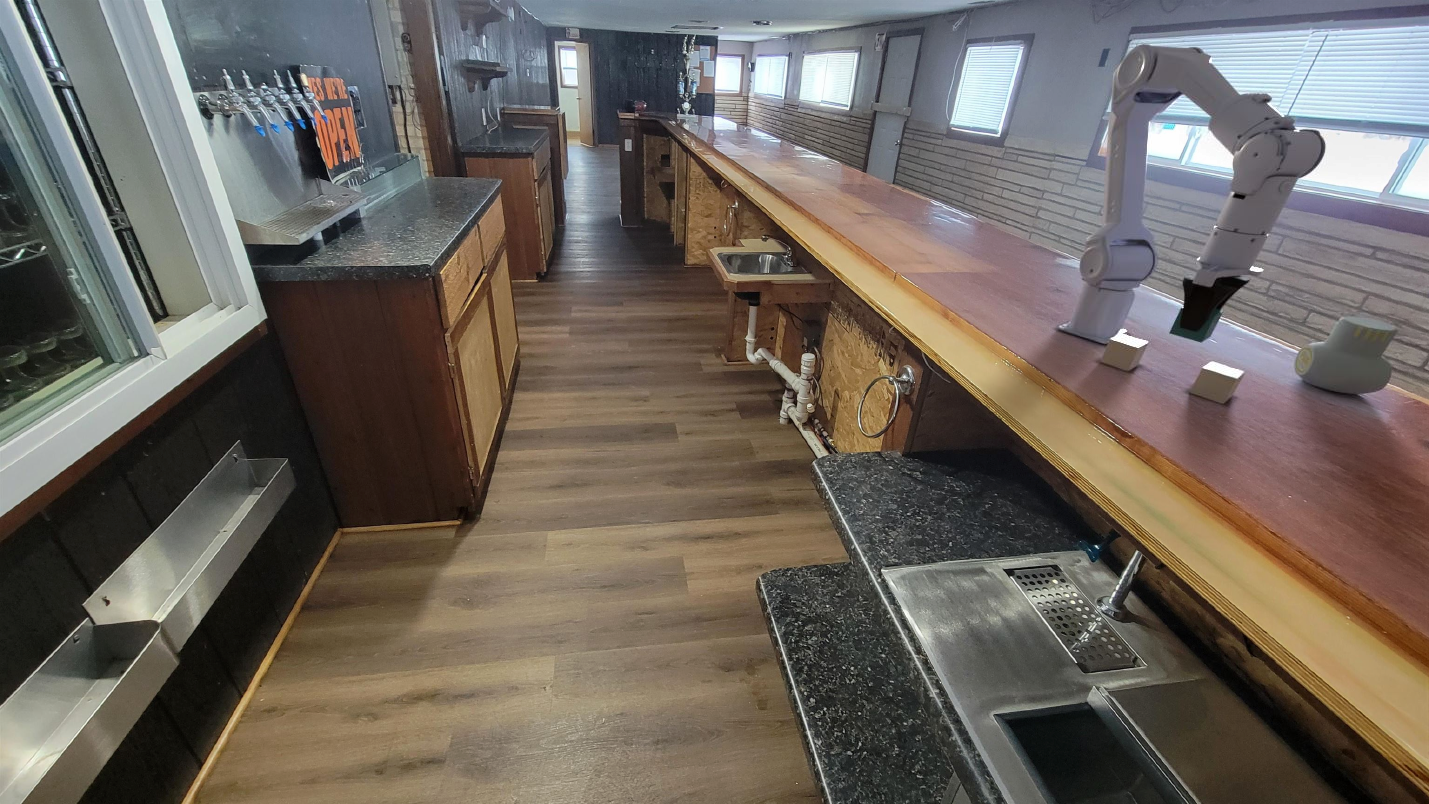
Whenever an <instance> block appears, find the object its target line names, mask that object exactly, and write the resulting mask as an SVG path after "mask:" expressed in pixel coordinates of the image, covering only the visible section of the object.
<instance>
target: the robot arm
mask: <svg viewBox="0 0 1429 804" xmlns="http://www.w3.org/2000/svg"><path fill="white" fill-rule="evenodd" d="M1212 59H1213V56H1212V55H1210V54H1208V53H1205V51H1204V50H1203V49H1202V48H1200V47H1197V46H1189V47H1180V46H1179V47H1177V46H1160V45H1159V46H1158V45H1150V44H1148V43H1147V44H1146V43H1142V44H1138V45H1137V46H1135V47H1133V48H1132V49H1130V51H1128V52H1127V54H1126V55H1125V56H1124V58H1123V59H1122V61H1121V62H1120V63H1119V65H1118V66H1117V68H1116V69H1115V70H1114V72H1113V73H1112V89H1111V102H1110V112H1109V117H1108V125H1107V141H1106V142H1107V143H1106V158H1105V172H1104V187H1103V188H1104V189H1103V202H1102V203H1103V204H1102V220H1101V227H1100V228H1098V229H1097V230H1096V231H1094V233H1092V234H1090V235H1089V236H1088V237H1086V239H1085V241H1084V250H1083V253H1082V255H1081V257H1080V260H1079V273H1080V276H1081V281H1083V285H1082V288H1081V290H1080V293H1079V295H1078V298H1077V301H1076V303H1075V307H1074V309H1073V311H1072V315H1071V317H1070V319H1069V322H1065V323H1063V324H1061V325H1059V326H1058V327H1057V329H1058V330H1059V331H1063V332H1065V333H1069V334H1071V335H1074V336H1077V337H1081V338H1084V339H1087V340H1090V341H1094V342H1097V343H1100V344H1102V345H1106V344H1108V342H1109V340H1110V339H1111V338H1113V337H1115V336H1117V335H1119V334H1124V335H1127V333H1128V330H1126V329H1124V328H1123V327H1124V324H1125V322H1126V321H1127V320H1126V319H1127V318H1128V315H1129V314H1130V310H1131V308H1132V306H1133V303H1134V301H1135V299H1136V293H1135V289H1138V288H1139V287H1140V285H1141V283H1143V282H1146V281H1147V280H1149V279H1150V278H1151V277H1152V276H1153V275H1154V273H1155V272H1156V269H1157V267H1158V264H1159V256H1158V252H1157V249H1156V247H1155V234H1154V233H1153V232H1152V231H1151V230H1150V229H1149V228H1148V227H1147V226H1146V225H1145V224H1144V223H1143V221H1144V220H1143V219H1144V218H1143V217H1144V208H1145V207H1144V204H1145V191H1146V177H1147V175H1146V174H1147V164H1148V148H1149V135H1150V123H1151V122H1152V120H1153V119H1154V118H1155V117H1156V116H1157V115H1160V114H1162V113H1164V112H1165V111H1166V110H1167V109H1169V108H1170V107H1171V106H1172V105H1173V104H1175V103H1176V102H1177V101H1178V100H1179V99H1181V98H1182V97H1183V96H1185V97H1186V98H1187V99H1188V100H1190V101H1191V102H1192V103H1193V104H1195V105H1196V106H1197V107H1198V108H1199V109H1201V110H1202V111H1203V112H1205V113H1206V114H1207V115H1208V116H1209V117H1210V119H1209V122H1208V125H1207V126H1208V132H1209V133H1210V134H1211V135H1212V136H1213V137H1214V138H1215V139H1216V140H1217V141H1218V142H1219V143H1220V144H1221V145H1222V146H1223V147H1224V148H1225V149H1226V150H1227V151H1228V153H1230V154H1231V155H1232V156H1233V158H1232V170H1233V175H1232V179H1231V182H1230V183H1229V187H1230V189H1229V191H1230V192H1229V194H1228V195H1227V196H1228V197H1227V198H1226V200H1225V203H1224V204H1223V207H1222V209H1221V211H1220V213H1219V216H1218V217H1217V220H1216V221H1215V224H1214V226H1213V228H1212V230H1211V232H1210V235H1209V237H1208V239H1207V241H1206V243H1205V245H1204V247H1203V249H1202V251H1201V254H1200V255H1199V257H1198V258H1196V260H1195V262H1194V264H1195V267H1196V269H1197V272H1196V273H1195V275H1190V274H1188V275H1186V276H1184V278H1183V279H1182V288H1183V306H1182V307H1183V310H1182V315H1181V320H1180V328H1183V329H1187V330H1191V331H1194V332H1197V331H1198V330H1199V329H1200V328H1201V327H1202V326H1203V325H1204V323H1205V322H1206V321H1207V319H1208V318H1209V316H1210V315H1211V314H1212V312H1213V311H1214V309H1218V310H1222V309H1223V308H1224V306H1225V305H1226V304H1227V302H1228V301H1229V300H1230V299H1231V298H1232V297H1233V296H1234V295H1235V294H1236V293H1237V292H1239V291H1240V290H1241V289H1242V288H1244V287H1245V286H1246V285H1247V284H1249V282H1250V280H1251V278H1249V277H1247V276H1253V277H1259V276H1261V275H1262V273H1263V272H1264V269H1262V268H1259V267H1254V264H1255V262H1256V261H1257V260H1258V259H1257V258H1258V256H1259V255H1260V254H1261V251H1262V249H1263V248H1264V246H1265V243H1266V241H1267V239H1268V237H1269V236H1270V234H1271V232H1272V230H1273V228H1274V226H1275V224H1276V222H1277V220H1278V218H1279V217H1280V214H1281V213H1282V210H1283V209H1284V207H1285V205H1286V203H1287V201H1288V199H1289V197H1290V195H1291V193H1292V191H1293V190H1294V188H1295V186H1296V184H1297V182H1298V180H1299V179H1302V178H1304V177H1306V176H1308V175H1309V174H1311V173H1312V172H1313V171H1314V170H1316V168H1317V167H1318V166H1319V165H1320V164H1321V162H1322V160H1323V158H1324V157H1325V154H1326V141H1325V139H1324V137H1323V136H1322V134H1321V132H1320V130H1317V129H1312V128H1302V129H1297V128H1296V126H1295V125H1294V124H1295V122H1296V120H1295V119H1294V118H1293V117H1292V116H1289V115H1283V114H1282V113H1280V112H1279V111H1278V110H1277V109H1276V108H1275V107H1274V106H1273V105H1271V104H1270V103H1271V101H1272V100H1273V97H1272V96H1270V94H1268V93H1266V92H1265V93H1264V92H1261V93H1260V92H1246V93H1242V94H1241V93H1239V92H1238V91H1237V89H1236V88H1235V87H1234V86H1233V85H1232V84H1231V83H1230V82H1229V81H1228V80H1227V78H1225V76H1224V75H1223V74H1222V73H1221V72H1220V71H1219V70H1218V69H1217V67H1216V66H1214V64H1213V63H1212Z"/></svg>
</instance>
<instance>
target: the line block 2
mask: <svg viewBox="0 0 1429 804" xmlns="http://www.w3.org/2000/svg"><path fill="white" fill-rule="evenodd" d="M1245 374H1246V371H1245V370H1241V369H1238V368H1234V367H1231V366H1229V365H1225V364H1223V363H1219V362H1215V361H1210V362H1209V363H1207V364H1206V365H1204V366H1202V368H1201V369H1200V371H1199V374H1198V375H1197V377H1196V379H1195V381H1194V383H1193V385H1192V386H1191V389H1190V391H1189V393H1190V394H1192V395H1195V396H1198V397H1201V398H1205V399H1207V400H1209V401H1211V402H1212V401H1213V402H1216V403H1219V404H1221V405H1224V404H1225V403H1226V402H1227V401H1229V400H1230V399H1231V398H1232V397H1233V395H1234V393H1235V391H1236V390H1237V388H1238V386H1239V384H1240V383H1241V381H1242V380H1243V378H1244V376H1245Z"/></svg>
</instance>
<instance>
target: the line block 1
mask: <svg viewBox="0 0 1429 804" xmlns="http://www.w3.org/2000/svg"><path fill="white" fill-rule="evenodd" d="M1148 344H1149V341H1147V340H1143V339H1140V338H1136V337H1133V336H1129V335H1127V334H1119V335H1117V336H1115V337H1113V338H1111V339H1110V340H1109V342H1108V343H1107V345H1106V347H1105V349H1104V352H1103V354H1102V357H1101V359H1100V363H1102V364H1105V365H1108V366H1110V367H1114V368H1117V369H1120V370H1122V371H1126V372H1129V371H1131V370H1132V369H1134V368H1136V367H1137V366H1139V364H1140V362H1141V360H1142V358H1143V355H1144V353H1145V351H1146V349H1147V347H1148Z"/></svg>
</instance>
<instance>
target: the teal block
mask: <svg viewBox="0 0 1429 804" xmlns="http://www.w3.org/2000/svg"><path fill="white" fill-rule="evenodd" d="M1182 310H1183V306H1182V307H1180V309H1179V311H1178V313H1177V316H1176V318H1175V320H1174V322H1173V324H1172V326H1171V328H1170V330H1169V332H1168V334H1169V335H1173V336H1177V337H1180V338H1183V339H1187V340H1191V341H1193V342H1197V343H1203V342H1205V341H1206V340H1208V339H1210V338H1211V337H1212V335H1213V333H1214V331H1215V329H1216V327H1217V325H1218V323H1219V321H1220V319H1221V317H1222V316H1223V313H1224V310H1222V309H1221V310H1218V309H1214V311H1213V312H1212V314H1211V315H1210V316H1209V318H1208V319H1207V321H1206V322H1205V323H1204V325H1203V326H1202V327H1201V328H1200V329H1199V330H1198V331H1197V332H1194V331H1191V330H1187V329H1183V328H1180V320H1181V315H1182Z"/></svg>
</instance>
